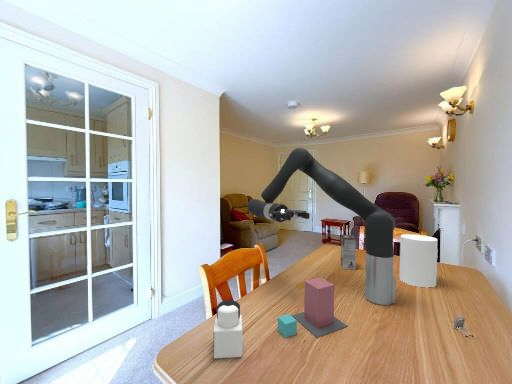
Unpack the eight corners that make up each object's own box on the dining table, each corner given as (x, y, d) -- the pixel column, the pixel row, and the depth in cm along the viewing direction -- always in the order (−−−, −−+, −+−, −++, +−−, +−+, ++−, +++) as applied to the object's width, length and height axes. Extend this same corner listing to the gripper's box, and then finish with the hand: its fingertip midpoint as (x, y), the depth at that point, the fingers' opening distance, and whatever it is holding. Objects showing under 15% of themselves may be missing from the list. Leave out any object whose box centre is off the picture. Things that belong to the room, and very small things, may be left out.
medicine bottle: (216, 340, 64) (215, 297, 64) (241, 338, 65) (241, 296, 65) (213, 359, 57) (213, 311, 57) (242, 357, 58) (242, 310, 58)
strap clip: (478, 339, 66) (479, 324, 66) (468, 340, 66) (469, 325, 65) (450, 321, 74) (451, 308, 74) (442, 322, 74) (442, 309, 74)
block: (288, 326, 71) (288, 313, 71) (296, 333, 67) (296, 320, 67) (277, 330, 69) (277, 317, 69) (285, 338, 66) (285, 324, 65)
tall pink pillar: (319, 312, 78) (320, 277, 77) (333, 322, 72) (334, 284, 72) (304, 317, 75) (304, 280, 75) (317, 328, 69) (318, 289, 69)
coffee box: (340, 263, 128) (340, 234, 127) (352, 264, 127) (352, 234, 126) (342, 269, 119) (343, 238, 118) (356, 270, 118) (356, 238, 117)
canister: (402, 284, 101) (404, 239, 100) (396, 273, 113) (398, 233, 112) (441, 290, 96) (442, 242, 95) (430, 278, 108) (431, 235, 107)
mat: (320, 307, 82) (320, 306, 82) (347, 326, 71) (347, 325, 71) (292, 316, 76) (292, 315, 76) (316, 337, 66) (316, 336, 66)
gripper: (261, 203, 96) (283, 207, 81) (289, 202, 102) (314, 205, 88) (261, 222, 96) (283, 228, 81) (289, 219, 102) (314, 225, 88)
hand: (299, 216), depth 85 cm, fingers open, 8 cm apart
